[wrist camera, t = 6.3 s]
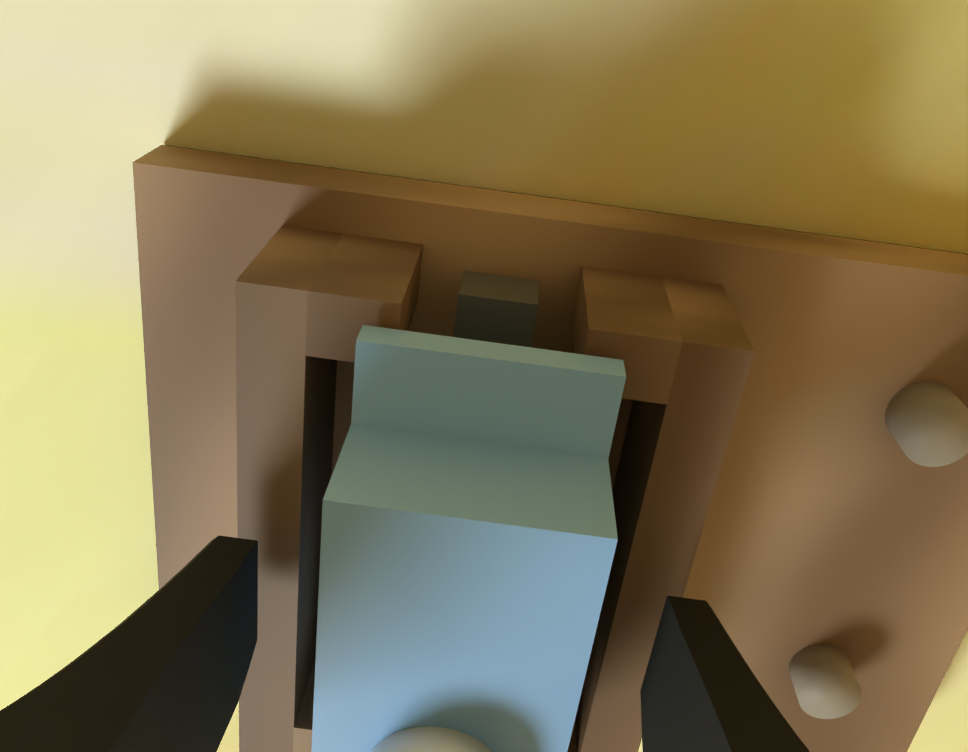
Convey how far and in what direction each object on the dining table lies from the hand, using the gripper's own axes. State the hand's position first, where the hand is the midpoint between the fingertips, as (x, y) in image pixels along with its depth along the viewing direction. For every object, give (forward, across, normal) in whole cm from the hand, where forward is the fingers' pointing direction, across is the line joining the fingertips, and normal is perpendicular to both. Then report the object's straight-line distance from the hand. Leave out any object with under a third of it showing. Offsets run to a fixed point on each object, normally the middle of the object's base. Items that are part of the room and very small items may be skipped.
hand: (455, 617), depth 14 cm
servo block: (+3, 0, 0) cm, 3 cm away
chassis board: (+4, -2, 0) cm, 5 cm away
